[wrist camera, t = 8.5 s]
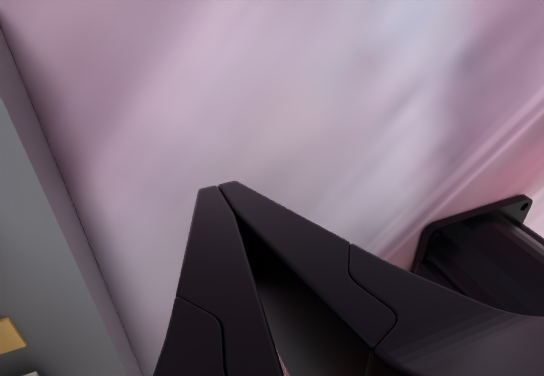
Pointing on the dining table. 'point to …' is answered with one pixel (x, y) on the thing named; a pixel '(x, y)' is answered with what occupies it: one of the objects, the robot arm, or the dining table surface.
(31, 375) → the tab middle
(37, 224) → the switch panel
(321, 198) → the dining table surface
